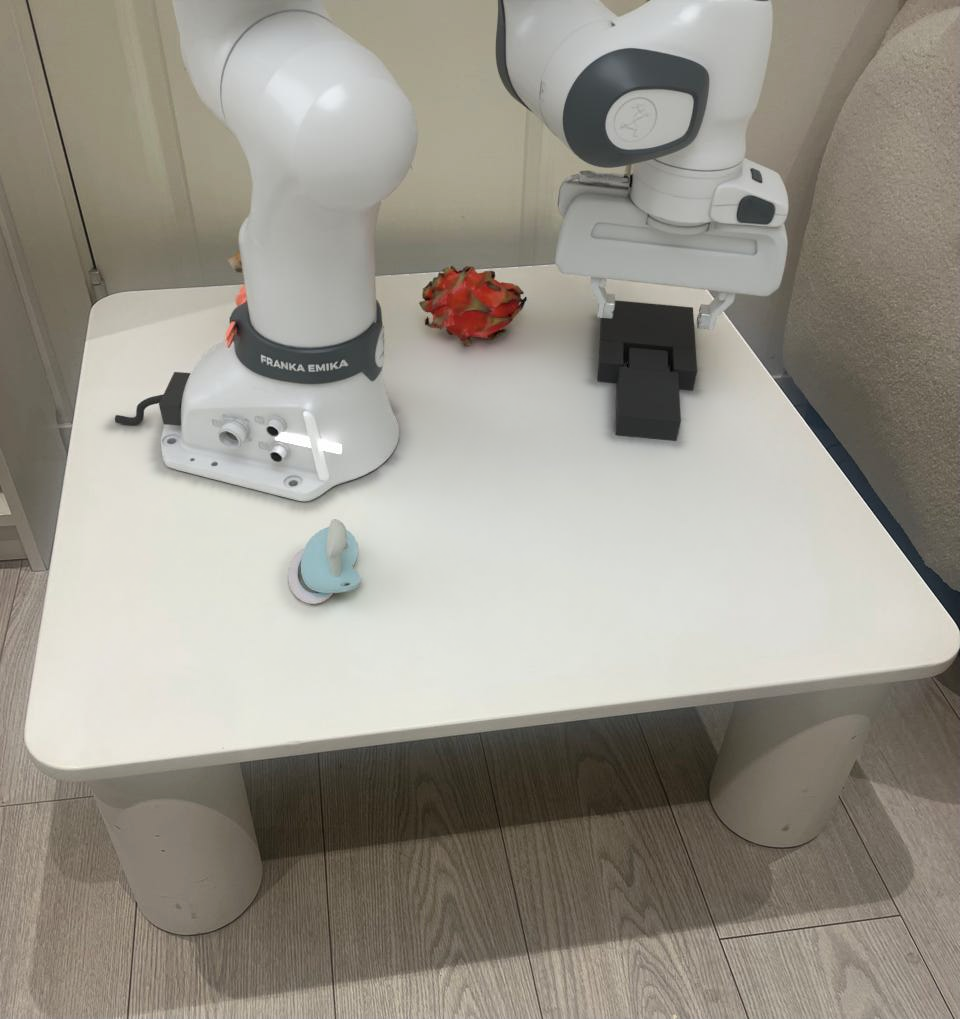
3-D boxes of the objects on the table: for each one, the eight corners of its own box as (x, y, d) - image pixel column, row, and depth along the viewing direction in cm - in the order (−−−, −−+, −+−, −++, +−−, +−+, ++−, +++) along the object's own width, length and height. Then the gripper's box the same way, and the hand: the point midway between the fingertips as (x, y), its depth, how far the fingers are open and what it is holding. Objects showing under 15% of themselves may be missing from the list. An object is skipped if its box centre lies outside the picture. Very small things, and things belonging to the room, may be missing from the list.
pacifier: (289, 615, 82) (363, 606, 83) (278, 563, 78) (356, 555, 79) (288, 550, 88) (358, 542, 88) (278, 498, 83) (351, 490, 84)
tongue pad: (676, 440, 100) (680, 421, 98) (615, 435, 100) (618, 415, 98) (673, 370, 108) (677, 351, 106) (616, 365, 108) (619, 346, 106)
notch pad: (693, 390, 106) (697, 371, 104) (597, 381, 106) (599, 362, 104) (689, 325, 114) (693, 307, 112) (600, 317, 115) (603, 298, 113)
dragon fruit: (410, 344, 112) (513, 348, 115) (425, 342, 104) (536, 346, 107) (412, 266, 111) (516, 272, 114) (428, 257, 103) (540, 264, 106)
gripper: (560, 184, 84) (542, 326, 93) (808, 211, 83) (765, 351, 92) (563, 152, 88) (546, 290, 98) (798, 177, 88) (758, 314, 97)
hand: (654, 320), depth 95 cm, fingers open, 8 cm apart
